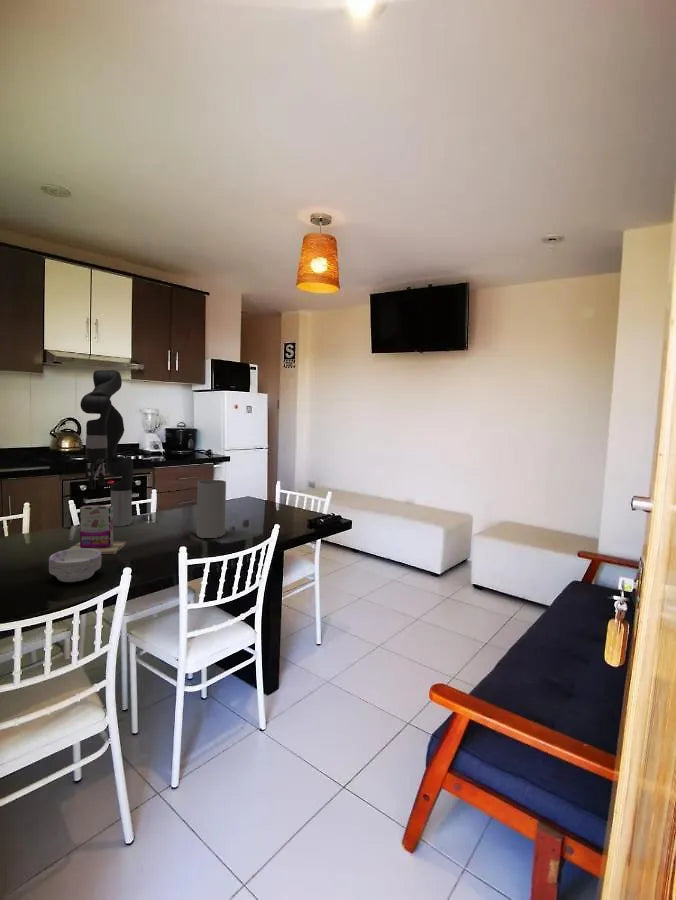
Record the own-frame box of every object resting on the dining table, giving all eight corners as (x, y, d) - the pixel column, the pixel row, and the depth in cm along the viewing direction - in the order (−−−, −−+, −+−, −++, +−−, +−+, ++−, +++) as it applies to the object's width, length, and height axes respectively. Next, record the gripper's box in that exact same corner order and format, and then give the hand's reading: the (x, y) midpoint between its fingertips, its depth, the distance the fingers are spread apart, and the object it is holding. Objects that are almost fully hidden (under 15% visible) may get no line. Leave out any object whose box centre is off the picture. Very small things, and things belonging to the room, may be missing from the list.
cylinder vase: (198, 532, 211) (198, 479, 209) (225, 531, 214) (226, 479, 212) (195, 539, 199) (196, 483, 197) (224, 539, 202) (225, 484, 200)
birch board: (81, 543, 186) (81, 541, 186) (126, 544, 188) (126, 541, 188) (64, 554, 172) (64, 551, 172) (113, 554, 174) (113, 551, 174)
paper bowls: (104, 580, 148) (104, 557, 148) (50, 589, 140) (50, 564, 139) (98, 566, 161) (98, 545, 160) (47, 574, 152) (47, 551, 151)
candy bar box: (113, 543, 184) (113, 504, 183) (110, 547, 179) (110, 507, 178) (83, 544, 181) (83, 504, 180) (79, 548, 176) (79, 507, 175)
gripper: (94, 444, 183) (94, 484, 185) (78, 447, 169) (78, 490, 171) (113, 445, 184) (113, 484, 186) (98, 448, 170) (99, 490, 171)
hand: (96, 487), depth 178 cm, fingers open, 8 cm apart
